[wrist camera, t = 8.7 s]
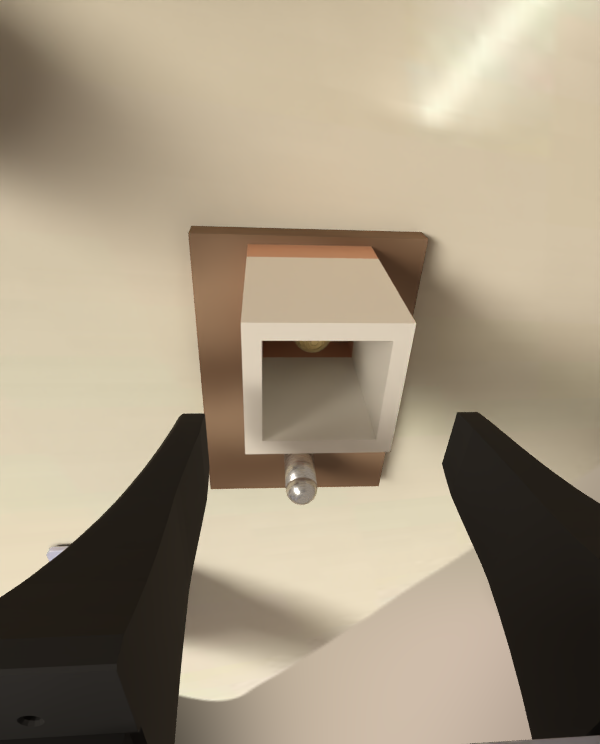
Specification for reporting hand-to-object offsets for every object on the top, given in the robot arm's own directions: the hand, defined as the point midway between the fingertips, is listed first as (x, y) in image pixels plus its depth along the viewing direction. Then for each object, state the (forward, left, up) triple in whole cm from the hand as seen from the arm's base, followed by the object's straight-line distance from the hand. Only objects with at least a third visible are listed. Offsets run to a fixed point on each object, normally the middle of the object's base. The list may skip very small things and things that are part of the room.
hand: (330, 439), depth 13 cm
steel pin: (-9, 0, -9) cm, 13 cm away
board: (-4, 0, -10) cm, 11 cm away
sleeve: (0, 0, -9) cm, 9 cm away
